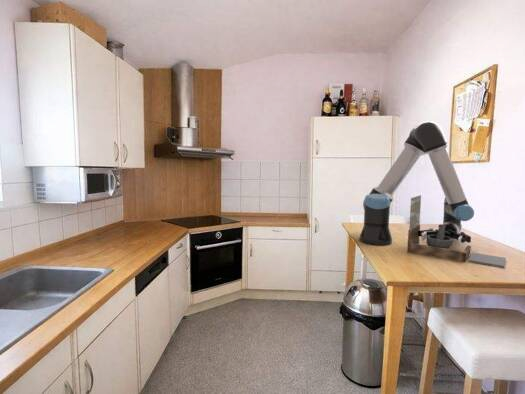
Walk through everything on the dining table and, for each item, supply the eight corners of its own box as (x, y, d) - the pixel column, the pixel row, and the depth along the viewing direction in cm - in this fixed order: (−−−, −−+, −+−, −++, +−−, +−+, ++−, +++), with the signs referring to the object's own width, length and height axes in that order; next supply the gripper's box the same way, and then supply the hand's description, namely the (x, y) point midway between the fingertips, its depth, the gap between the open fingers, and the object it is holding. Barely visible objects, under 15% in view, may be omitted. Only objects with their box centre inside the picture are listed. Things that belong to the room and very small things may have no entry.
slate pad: (468, 261, 117) (468, 259, 117) (472, 254, 127) (472, 252, 127) (504, 268, 110) (504, 266, 110) (505, 259, 120) (505, 257, 120)
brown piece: (407, 251, 131) (410, 198, 128) (416, 244, 142) (419, 195, 139) (465, 262, 117) (470, 202, 114) (470, 253, 128) (474, 198, 125)
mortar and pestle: (449, 257, 122) (451, 229, 121) (424, 253, 128) (425, 226, 127) (453, 251, 131) (455, 225, 130) (429, 247, 137) (430, 222, 136)
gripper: (479, 242, 135) (475, 253, 119) (419, 234, 151) (408, 243, 135) (480, 226, 134) (476, 235, 118) (420, 220, 150) (408, 227, 134)
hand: (440, 239), depth 126 cm, fingers open, 13 cm apart
